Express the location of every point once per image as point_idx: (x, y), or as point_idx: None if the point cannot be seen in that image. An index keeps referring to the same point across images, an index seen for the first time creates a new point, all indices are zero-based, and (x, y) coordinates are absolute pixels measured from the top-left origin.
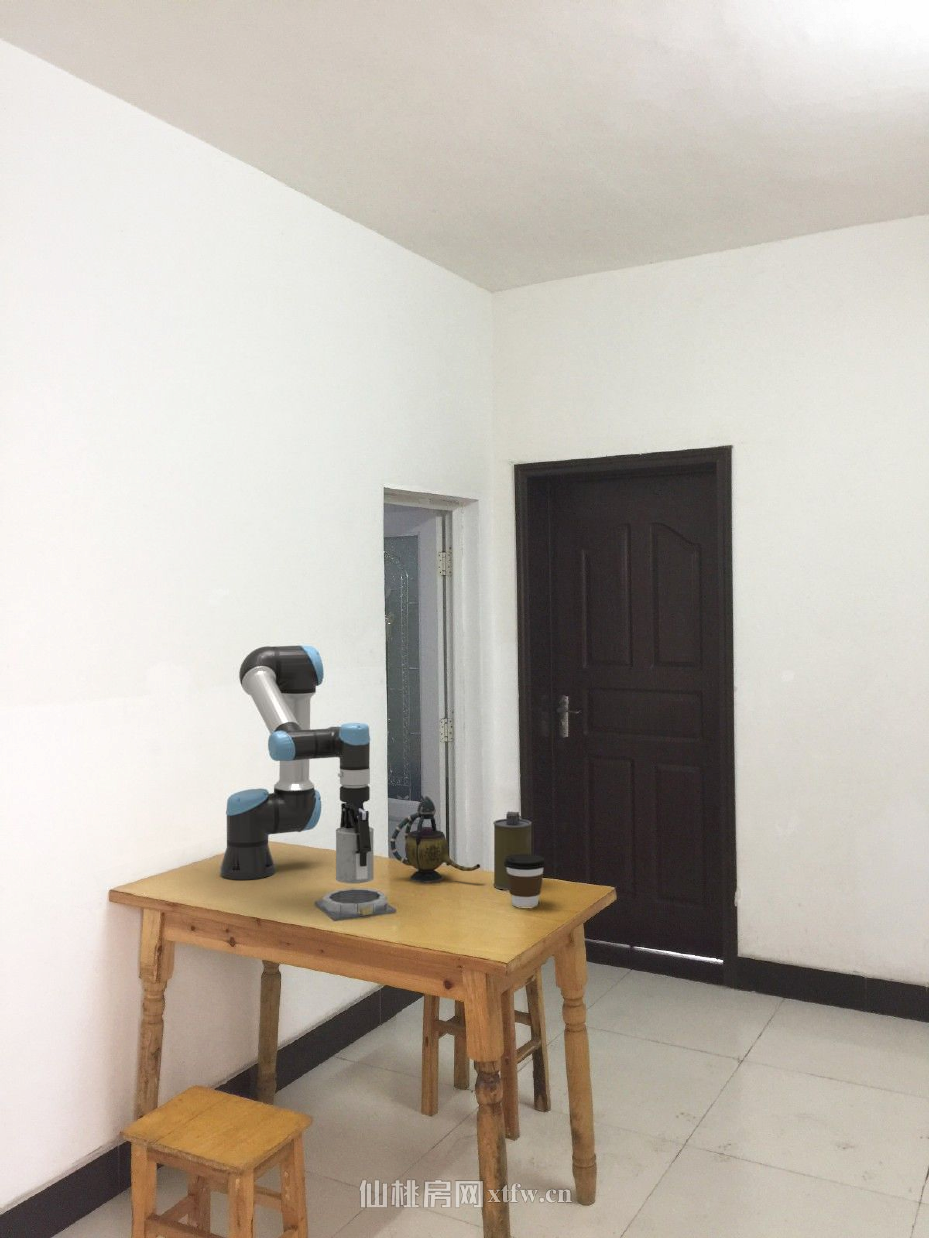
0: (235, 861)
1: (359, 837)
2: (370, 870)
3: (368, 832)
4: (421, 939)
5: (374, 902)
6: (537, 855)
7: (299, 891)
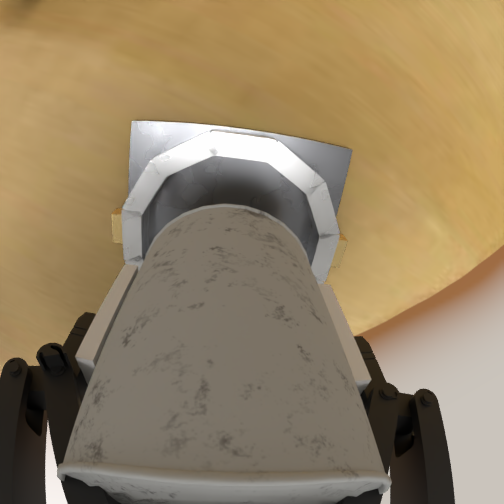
0: None
1: (395, 486)
2: (312, 273)
3: (447, 485)
4: (499, 224)
5: (334, 226)
6: None
7: (29, 279)
